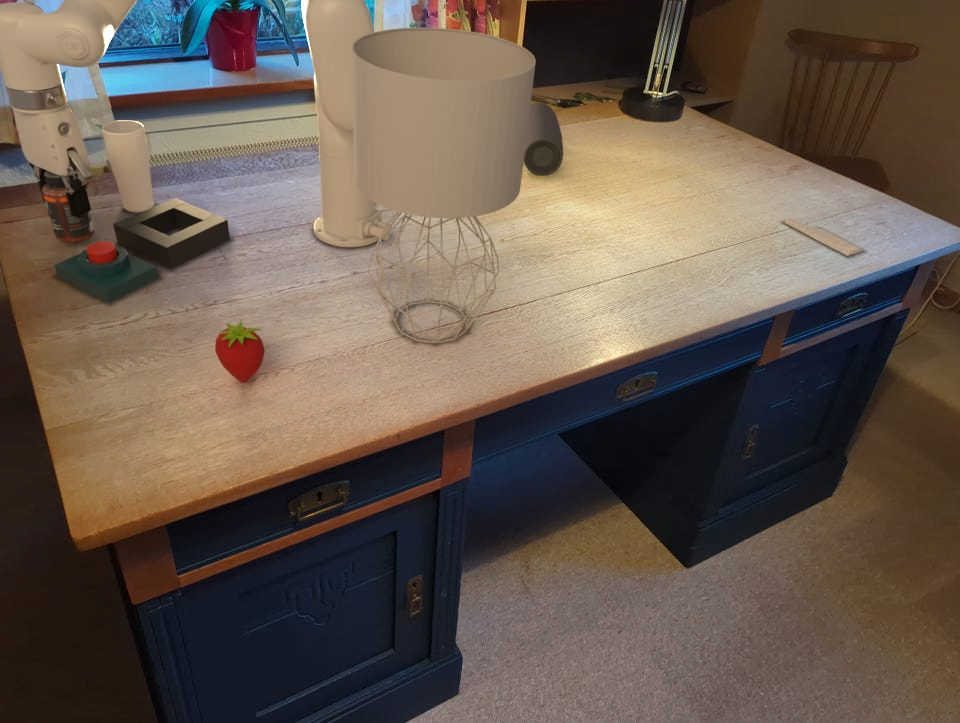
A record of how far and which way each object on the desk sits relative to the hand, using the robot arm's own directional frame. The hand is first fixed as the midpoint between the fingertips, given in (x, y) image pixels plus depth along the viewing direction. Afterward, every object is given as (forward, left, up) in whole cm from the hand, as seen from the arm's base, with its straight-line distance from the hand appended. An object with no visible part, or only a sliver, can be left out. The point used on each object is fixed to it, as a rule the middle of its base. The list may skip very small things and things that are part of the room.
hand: (67, 206), depth 123 cm
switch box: (-13, +4, -7) cm, 15 cm away
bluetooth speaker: (-43, -85, -7) cm, 95 cm away
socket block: (-12, -10, -7) cm, 17 cm away
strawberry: (-48, +10, -7) cm, 49 cm away
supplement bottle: (0, 0, -6) cm, 6 cm away
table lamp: (-60, -17, -7) cm, 63 cm away
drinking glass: (+3, -15, -7) cm, 17 cm away
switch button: (-13, +4, -3) cm, 14 cm away
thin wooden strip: (-105, -90, -7) cm, 138 cm away
